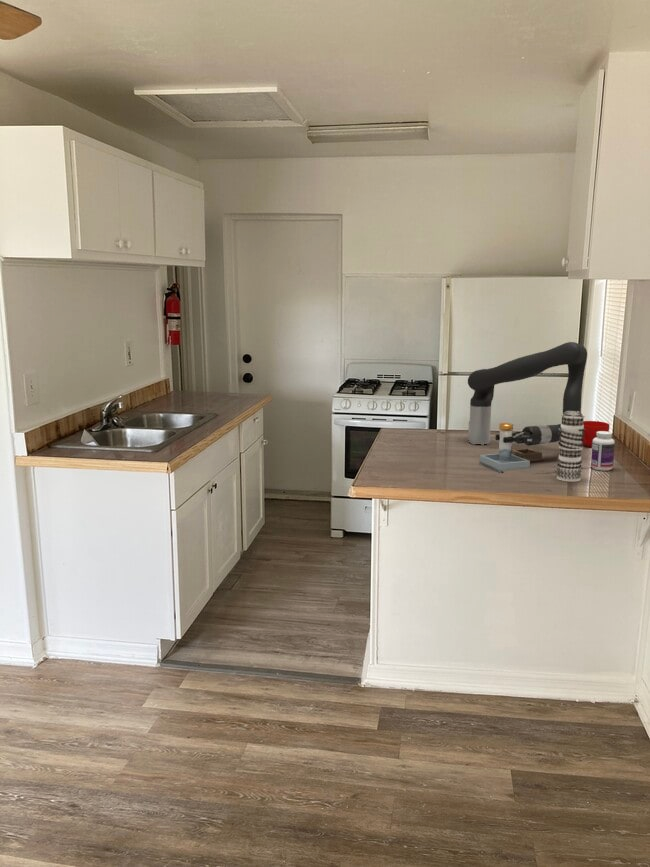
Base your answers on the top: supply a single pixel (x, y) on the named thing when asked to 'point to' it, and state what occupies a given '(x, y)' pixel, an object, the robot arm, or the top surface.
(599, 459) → the pill bottle
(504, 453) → the glass jar
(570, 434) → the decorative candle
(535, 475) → the top surface
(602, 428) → the ceramic cup
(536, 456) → the square wooden frame
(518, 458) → the tray
